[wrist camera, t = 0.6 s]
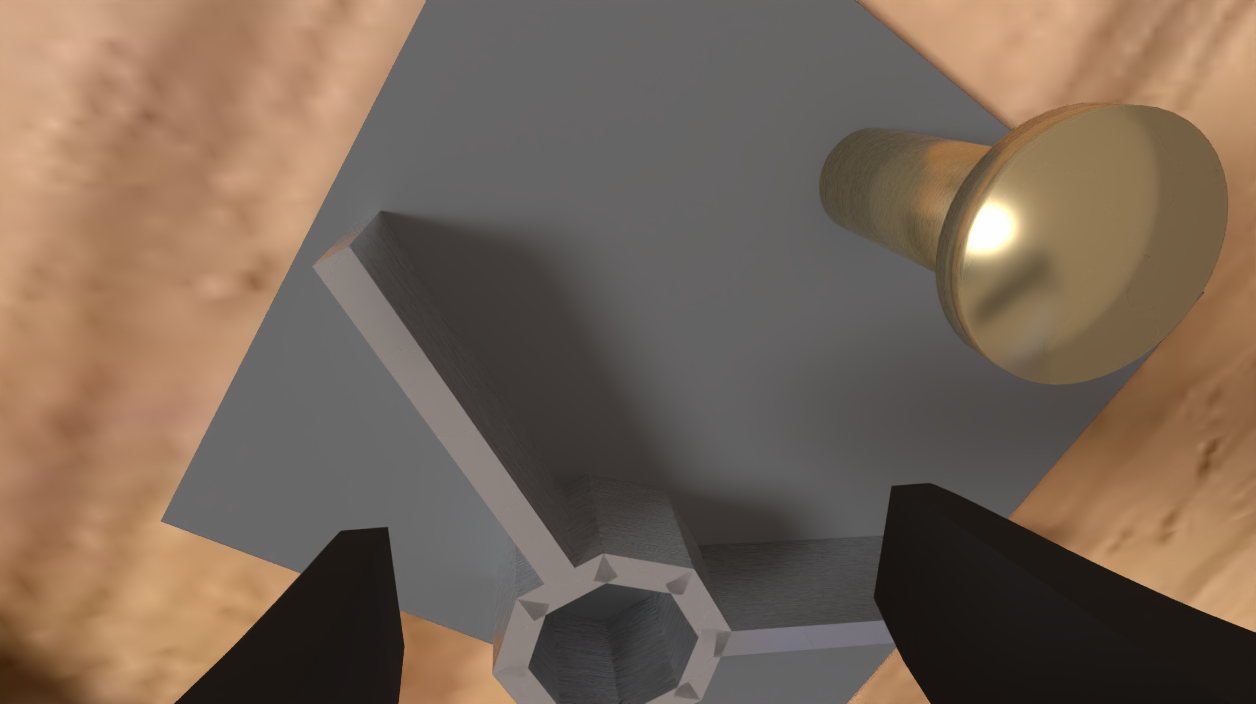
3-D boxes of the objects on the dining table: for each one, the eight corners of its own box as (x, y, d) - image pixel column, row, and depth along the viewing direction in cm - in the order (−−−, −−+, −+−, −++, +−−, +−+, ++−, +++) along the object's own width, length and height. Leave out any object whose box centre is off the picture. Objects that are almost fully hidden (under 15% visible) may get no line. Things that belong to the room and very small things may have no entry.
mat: (1186, 286, 22) (1204, 292, 21) (793, 743, 26) (799, 758, 26) (552, -240, 15) (555, -251, 14) (170, 508, 19) (160, 521, 19)
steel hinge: (965, 546, 23) (1040, 625, 20) (610, 728, 24) (626, 835, 21) (755, 1, 16) (818, -15, 13) (262, 276, 17) (202, 327, 14)
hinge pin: (983, 152, 19) (1279, 207, 11) (876, 294, 20) (1088, 426, 12) (857, 50, 17) (1106, 41, 10) (750, 209, 18) (907, 304, 11)
